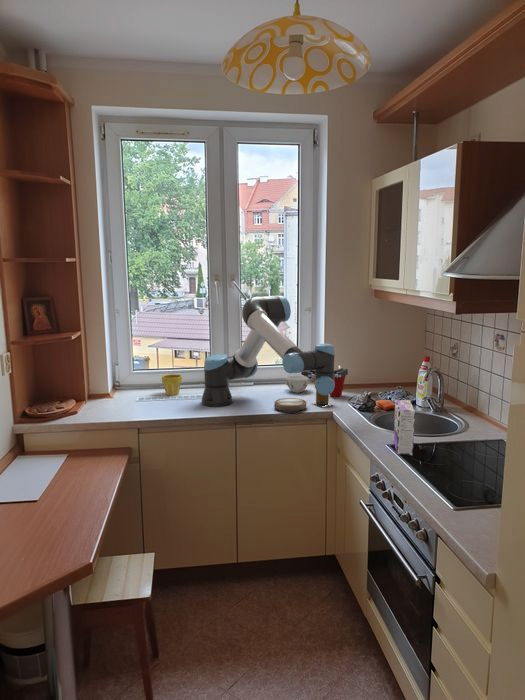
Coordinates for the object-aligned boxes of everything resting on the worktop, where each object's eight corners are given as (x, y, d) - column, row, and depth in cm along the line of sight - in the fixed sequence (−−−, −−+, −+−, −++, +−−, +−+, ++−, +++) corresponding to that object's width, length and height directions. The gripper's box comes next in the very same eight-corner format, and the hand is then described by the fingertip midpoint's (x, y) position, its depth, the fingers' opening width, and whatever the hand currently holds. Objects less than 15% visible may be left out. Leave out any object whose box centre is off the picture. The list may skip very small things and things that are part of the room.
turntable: (270, 403, 236) (270, 399, 236) (298, 400, 241) (298, 396, 240) (281, 412, 222) (281, 407, 222) (311, 408, 227) (311, 404, 227)
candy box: (393, 441, 187) (394, 399, 184) (409, 441, 186) (411, 399, 183) (396, 454, 174) (397, 409, 171) (413, 455, 173) (415, 410, 170)
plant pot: (170, 390, 267) (169, 373, 265) (186, 392, 262) (185, 374, 261) (158, 395, 258) (157, 377, 256) (174, 397, 253) (174, 378, 251)
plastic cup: (345, 393, 257) (345, 371, 255) (346, 399, 247) (347, 375, 245) (324, 393, 258) (324, 371, 256) (325, 398, 248) (325, 375, 246)
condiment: (323, 401, 242) (324, 378, 240) (334, 405, 235) (334, 381, 233) (311, 403, 239) (311, 379, 237) (322, 408, 232) (322, 383, 230)
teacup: (313, 391, 263) (314, 376, 262) (299, 395, 254) (299, 380, 253) (291, 386, 273) (291, 372, 272) (277, 391, 264) (277, 376, 262)
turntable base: (274, 406, 235) (274, 404, 235) (297, 403, 239) (297, 402, 239) (283, 413, 224) (283, 411, 224) (307, 410, 228) (307, 409, 228)
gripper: (294, 386, 205) (296, 376, 226) (355, 387, 202) (351, 376, 223) (294, 369, 204) (296, 360, 225) (355, 369, 201) (352, 360, 222)
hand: (324, 368), depth 224 cm, fingers open, 13 cm apart
